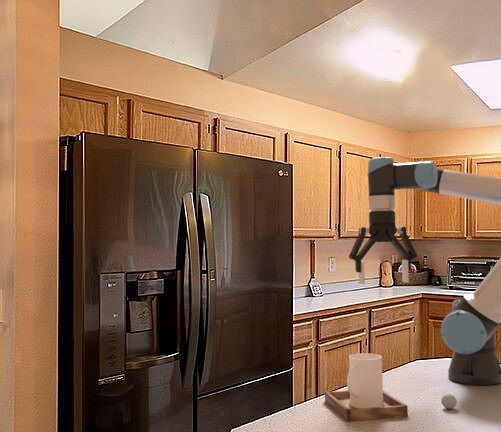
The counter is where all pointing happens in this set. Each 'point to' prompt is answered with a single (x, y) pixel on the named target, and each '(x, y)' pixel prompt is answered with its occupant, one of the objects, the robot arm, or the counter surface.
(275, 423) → the counter surface
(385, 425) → the counter surface
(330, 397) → the tray
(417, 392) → the counter surface
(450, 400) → the ball
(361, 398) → the mug
